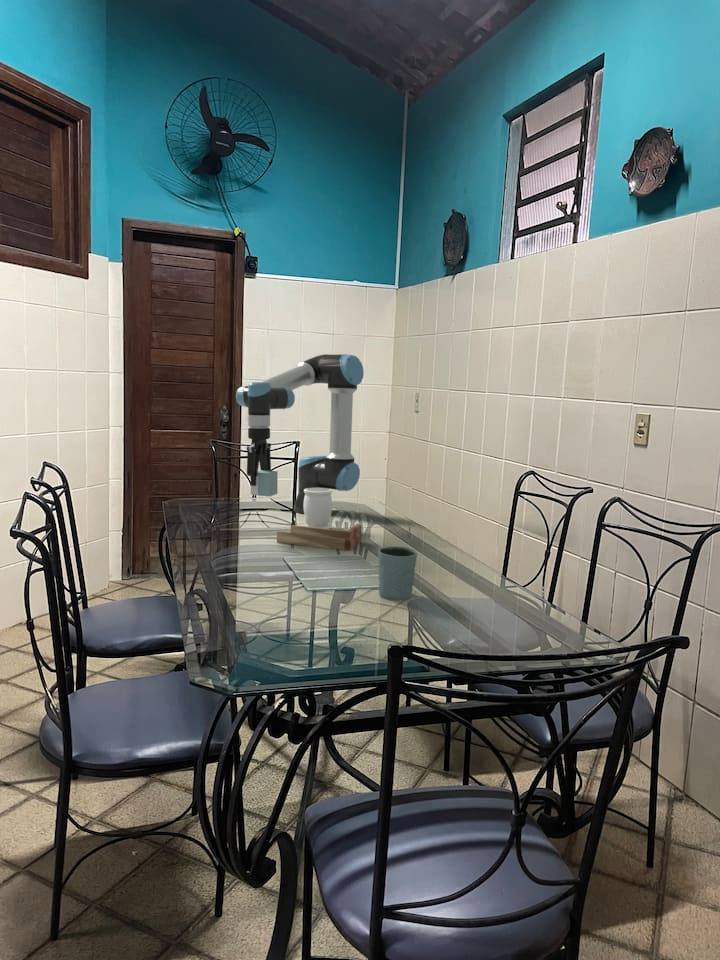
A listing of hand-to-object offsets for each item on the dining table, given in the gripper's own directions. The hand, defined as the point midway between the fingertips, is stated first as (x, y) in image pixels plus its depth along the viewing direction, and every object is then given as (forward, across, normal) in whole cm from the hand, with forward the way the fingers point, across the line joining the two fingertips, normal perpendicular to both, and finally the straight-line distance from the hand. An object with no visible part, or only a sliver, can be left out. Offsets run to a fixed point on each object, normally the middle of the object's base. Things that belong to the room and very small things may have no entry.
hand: (259, 493), depth 242 cm
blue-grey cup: (+15, +45, +64) cm, 79 cm away
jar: (+15, -17, +15) cm, 28 cm away
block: (0, 0, +3) cm, 3 cm away
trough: (+15, 0, +23) cm, 28 cm away
